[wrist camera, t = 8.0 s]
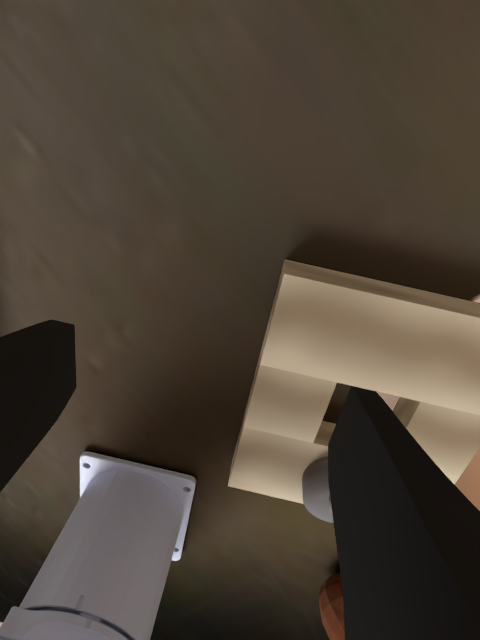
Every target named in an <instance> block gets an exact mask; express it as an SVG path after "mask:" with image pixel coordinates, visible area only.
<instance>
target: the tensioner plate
mask: <svg viewBox="0 0 480 640" xmlns="http://www.w3.org/2000/svg"><path fill="white" fill-rule="evenodd" d="M337 383H341V384H346V385H350V386H354V387H359V388H363V389H368V390H372V391H376V392H381V393H385V394H389V395H394V396H398V397H400V398H399V400H398V402H397V404H396V406H395V408H394V410H393V413H394V414H395V415H396V416H397V418H398V419H399V420H400V421H401V423H402V424H403V425H404V426H405V428H406V429H407V430H408V431H409V433H410V434H411V435H412V436H413V437H414V439H415V440H416V441H417V442H418V444H419V445H420V446H421V447H422V448H423V450H424V451H425V452H426V453H427V454H428V455H429V457H430V458H431V459H432V460H433V461H434V462H435V464H436V465H437V466H438V467H439V468H440V469H441V470H442V472H443V473H444V474H445V475H446V476H447V477H448V478H449V479H450V480H451V482H452V483H453V484H455V483H456V482H457V480H458V479H459V477H460V476H461V474H462V472H463V471H464V470H465V468H466V467H467V465H468V464H469V463H470V461H471V460H472V458H473V457H474V455H475V454H476V452H477V451H478V449H479V448H480V303H477V302H472V301H468V300H463V299H459V298H455V297H450V296H446V295H441V294H437V293H432V292H428V291H424V290H419V289H415V288H410V287H406V286H401V285H397V284H392V283H388V282H384V281H379V280H375V279H370V278H366V277H361V276H357V275H352V274H348V273H344V272H339V271H335V270H330V269H326V268H321V267H317V266H313V265H308V264H304V263H299V262H295V261H290V260H286V259H285V260H284V264H283V268H282V272H281V275H280V279H279V283H278V287H277V291H276V295H275V298H274V302H273V306H272V310H271V314H270V318H269V321H268V325H267V329H266V333H265V337H264V341H263V344H262V348H261V352H260V356H259V360H258V364H257V367H256V371H255V375H254V379H253V383H252V387H251V390H250V394H249V398H248V402H247V406H246V409H245V413H244V417H243V421H242V425H241V429H240V432H239V436H238V440H237V444H236V448H235V452H234V455H233V459H232V465H231V470H230V476H229V482H228V486H230V487H234V488H238V489H242V490H247V491H251V492H255V493H259V494H264V495H268V496H272V497H276V498H281V499H285V500H289V501H294V502H298V503H302V504H304V505H305V507H306V509H307V510H308V511H309V512H310V513H311V514H312V515H314V516H315V517H317V518H319V519H321V520H324V521H327V522H332V523H334V522H333V514H332V507H331V499H330V491H329V483H328V443H329V441H330V438H331V436H332V433H333V431H334V428H335V426H336V424H335V423H330V422H326V421H322V420H323V417H324V415H325V412H326V410H327V407H328V404H329V402H330V399H331V397H332V394H333V392H334V389H335V387H336V384H337Z"/></svg>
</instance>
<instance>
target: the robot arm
mask: <svg viewBox="0 0 480 640" xmlns="http://www.w3.org/2000/svg"><path fill="white" fill-rule="evenodd" d="M75 389H76V363H75V329H74V325H73V324H69V323H64V322H60V321H55V320H48V321H45V322H41V323H38V324H35V325H33V326H30V327H27V328H24V329H21V330H19V331H16V332H13V333H10V334H8V335H5V336H2V337H0V492H1V490H2V489H3V488H4V487H5V485H6V484H7V483H8V482H9V480H10V479H11V478H12V477H13V475H14V474H15V473H16V472H17V470H18V469H19V468H20V467H21V465H22V464H23V463H24V462H25V460H26V459H27V458H28V457H29V455H30V454H31V453H32V452H33V450H34V449H35V448H36V447H37V445H38V444H39V443H40V441H41V440H42V439H43V438H44V436H45V435H46V434H47V432H48V431H49V430H50V429H51V427H52V426H53V425H54V423H55V422H56V421H57V419H58V418H59V416H60V414H61V413H62V411H63V410H64V408H65V406H66V405H67V403H68V401H69V399H70V398H71V396H72V394H73V392H74V391H75ZM328 483H329V491H330V499H331V507H332V514H333V522H334V529H335V536H336V543H337V551H338V558H339V565H340V572H341V582H342V592H343V607H344V629H345V640H480V511H479V510H478V509H477V508H476V507H475V506H474V505H473V504H472V503H471V502H470V501H469V500H468V499H467V498H466V497H465V496H464V495H463V493H462V492H461V491H460V490H459V489H458V488H457V487H456V486H455V485H454V484H453V483H452V482H451V480H450V479H449V478H448V477H447V476H446V475H445V474H444V473H443V472H442V470H441V469H440V468H439V467H438V466H437V465H436V464H435V462H434V461H433V460H432V459H431V458H430V457H429V455H428V454H427V453H426V452H425V451H424V450H423V448H422V447H421V446H420V445H419V444H418V442H417V441H416V440H415V439H414V437H413V436H412V435H411V434H410V433H409V431H408V430H407V429H406V428H405V426H404V425H403V424H402V423H401V421H400V420H399V419H398V418H397V416H396V415H395V414H394V413H393V411H392V410H391V409H390V408H389V406H388V405H387V404H386V403H385V402H384V400H383V399H382V398H381V397H380V396H379V395H378V393H377V392H376V391H372V390H368V389H363V388H359V387H354V386H351V389H350V391H349V394H348V396H347V399H346V401H345V404H344V406H343V409H342V411H341V414H340V416H339V418H338V421H337V423H336V426H335V428H334V431H333V433H332V436H331V438H330V441H329V443H328ZM195 486H196V479H195V478H194V477H193V476H191V475H187V474H183V473H178V472H174V471H170V470H165V469H161V468H157V467H153V466H148V465H144V464H140V463H136V462H131V461H127V460H123V459H119V458H114V457H110V456H106V455H101V454H97V453H93V452H88V451H86V452H83V453H82V455H81V456H80V499H79V501H78V503H77V505H76V506H75V508H74V510H73V512H72V514H71V515H70V517H69V519H68V521H67V523H66V524H65V526H64V528H63V530H62V532H61V533H60V535H59V537H58V539H57V540H56V542H55V544H54V546H53V548H52V549H51V551H50V553H49V555H48V557H47V558H46V560H45V562H44V564H43V565H42V567H41V569H40V571H39V573H38V574H37V576H36V578H35V580H34V582H33V583H32V585H31V587H30V589H29V590H28V592H27V594H26V596H25V598H24V599H23V601H22V603H21V605H20V607H15V606H14V607H12V608H11V610H10V612H9V614H8V615H7V617H6V619H5V621H4V622H3V624H2V626H1V627H0V640H150V637H151V633H152V629H153V626H154V622H155V618H156V615H157V611H158V607H159V604H160V600H161V596H162V593H163V589H164V585H165V582H166V578H167V574H168V571H169V567H170V563H171V560H173V561H178V560H180V558H181V554H182V549H183V544H184V539H185V535H186V530H187V525H188V520H189V515H190V510H191V505H192V500H193V496H194V491H195Z"/></svg>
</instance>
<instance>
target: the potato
mask: <svg viewBox="0 0 480 640" xmlns="http://www.w3.org/2000/svg"><path fill="white" fill-rule="evenodd" d="M319 604H320V611H321V618H322V623H323V625H324V627H325V630H326V632H327V634H328V636H329V638H330V640H345V629H344V607H343V592H342V582H341V572H340V573H337V574H334V575H332V576H331V577H330V578H328V579H327V580H326V581H325V582H324V584H323V585H322V587H321V590H320V594H319Z"/></svg>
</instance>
